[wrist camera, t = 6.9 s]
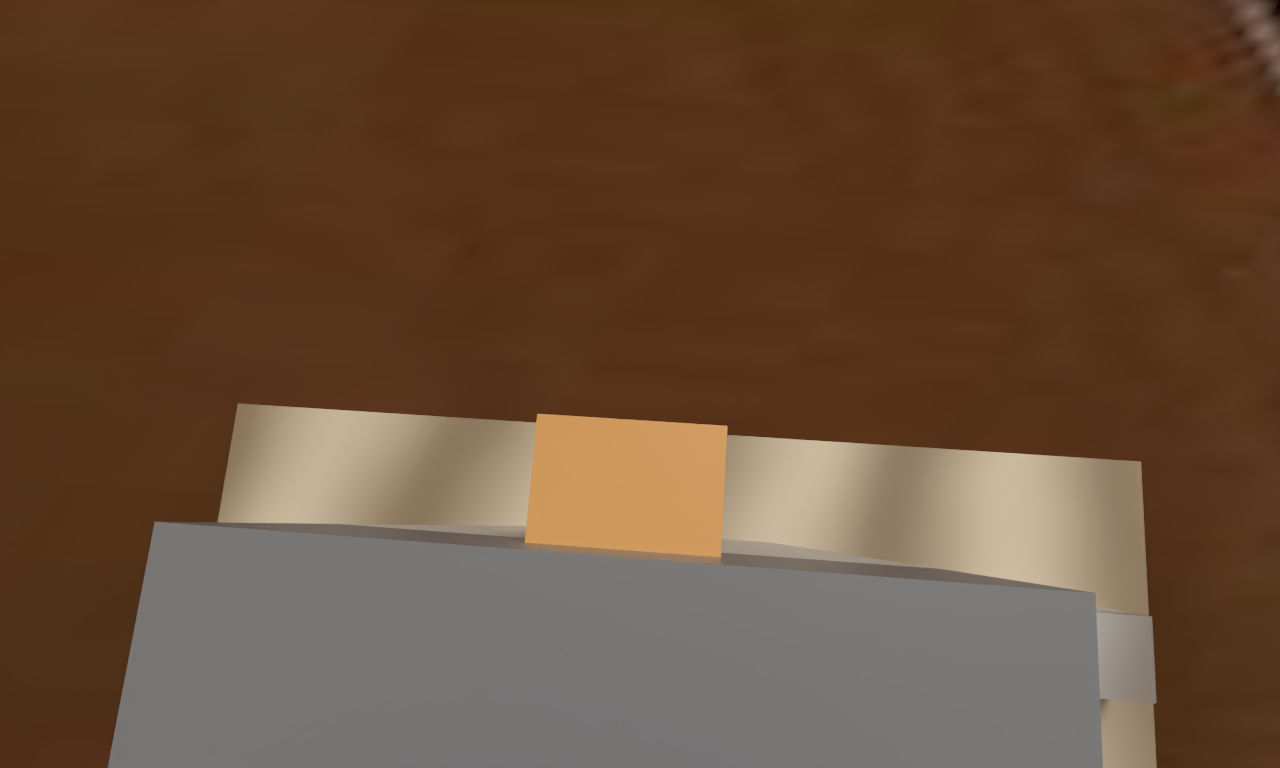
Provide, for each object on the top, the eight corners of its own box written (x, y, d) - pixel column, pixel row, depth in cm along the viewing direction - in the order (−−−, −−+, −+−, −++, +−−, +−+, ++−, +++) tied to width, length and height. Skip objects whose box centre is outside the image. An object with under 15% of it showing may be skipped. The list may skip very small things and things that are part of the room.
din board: (1119, 464, 21) (1184, 455, 19) (1137, 840, 20) (1211, 892, 17) (256, 408, 23) (199, 393, 20) (199, 751, 21) (129, 785, 19)
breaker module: (772, 502, 15) (1088, 419, 4) (762, 779, 14) (1152, 1944, 3) (556, 487, 16) (183, 364, 4) (532, 758, 15) (-74, 1718, 3)
